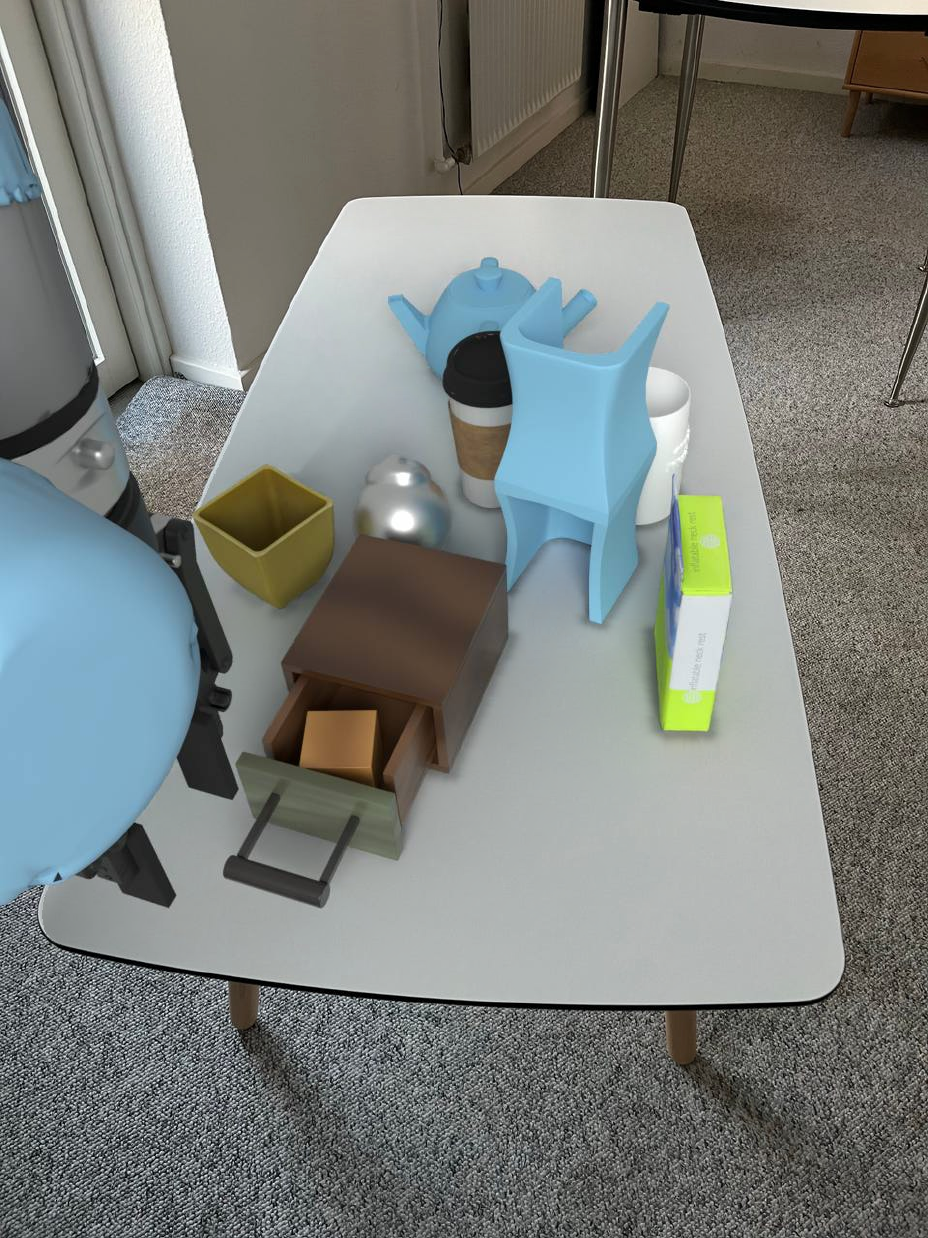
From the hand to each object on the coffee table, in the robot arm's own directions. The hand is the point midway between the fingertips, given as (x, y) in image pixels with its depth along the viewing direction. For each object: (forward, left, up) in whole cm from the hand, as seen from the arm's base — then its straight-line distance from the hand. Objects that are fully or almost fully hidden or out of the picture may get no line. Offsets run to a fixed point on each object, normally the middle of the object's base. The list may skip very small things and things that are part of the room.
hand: (182, 839), depth 56 cm
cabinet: (+25, +11, -19) cm, 33 cm away
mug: (+58, +11, -19) cm, 62 cm away
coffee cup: (+48, +22, -19) cm, 56 cm away
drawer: (+14, +6, -18) cm, 23 cm away
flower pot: (+26, +28, -19) cm, 43 cm away
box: (+40, -6, -19) cm, 45 cm away
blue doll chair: (+44, +9, -19) cm, 49 cm away
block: (+15, +6, -17) cm, 23 cm away
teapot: (+64, +36, -19) cm, 76 cm away
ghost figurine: (+36, +22, -19) cm, 46 cm away
